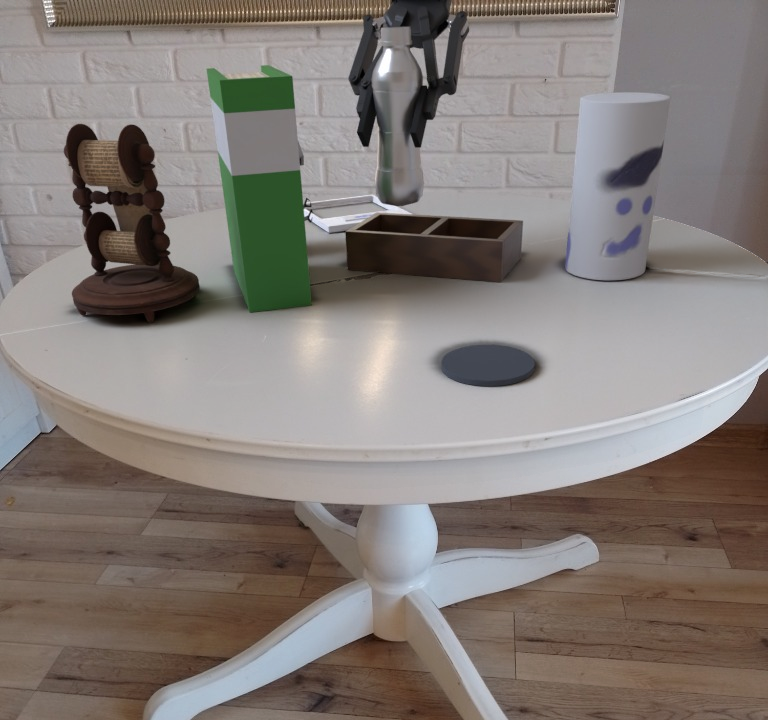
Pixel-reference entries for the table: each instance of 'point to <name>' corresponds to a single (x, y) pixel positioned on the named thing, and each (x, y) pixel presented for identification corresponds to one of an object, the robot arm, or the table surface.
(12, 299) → the table surface
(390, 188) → the silver bottle
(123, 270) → the scroll
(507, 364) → the coaster
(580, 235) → the container
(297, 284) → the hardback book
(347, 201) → the photo frame
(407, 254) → the wooden compartment box
